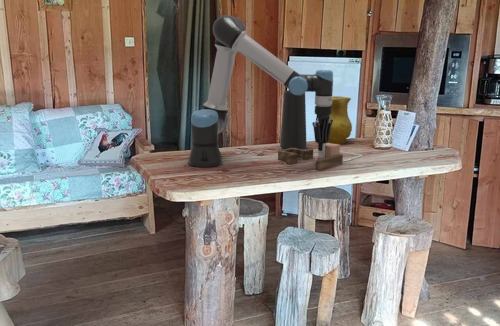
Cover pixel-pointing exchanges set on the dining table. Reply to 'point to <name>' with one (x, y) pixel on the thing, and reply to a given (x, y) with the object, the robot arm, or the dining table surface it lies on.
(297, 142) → the tapered dark column
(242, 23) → the robot arm
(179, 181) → the dining table surface
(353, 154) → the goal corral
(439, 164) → the dining table surface
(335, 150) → the block
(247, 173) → the dining table surface
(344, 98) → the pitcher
